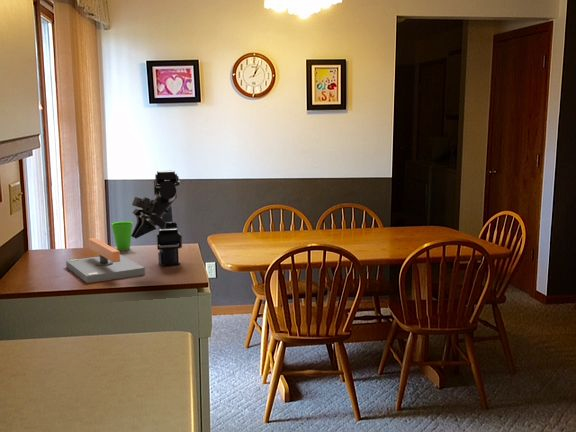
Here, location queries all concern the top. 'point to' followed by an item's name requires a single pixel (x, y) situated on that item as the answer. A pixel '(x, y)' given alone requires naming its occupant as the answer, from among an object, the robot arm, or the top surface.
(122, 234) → the cup
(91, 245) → the handle
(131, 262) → the panel
